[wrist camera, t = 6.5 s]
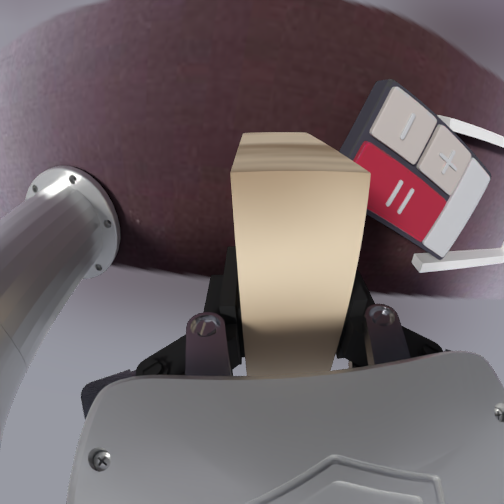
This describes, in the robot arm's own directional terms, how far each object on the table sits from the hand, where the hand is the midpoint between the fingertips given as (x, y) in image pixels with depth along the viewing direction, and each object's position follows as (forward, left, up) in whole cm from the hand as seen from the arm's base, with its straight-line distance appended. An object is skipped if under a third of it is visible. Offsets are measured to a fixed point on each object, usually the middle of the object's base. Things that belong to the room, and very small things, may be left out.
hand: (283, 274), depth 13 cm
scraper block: (0, 0, -5) cm, 5 cm away
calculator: (+14, +2, -13) cm, 19 cm away
